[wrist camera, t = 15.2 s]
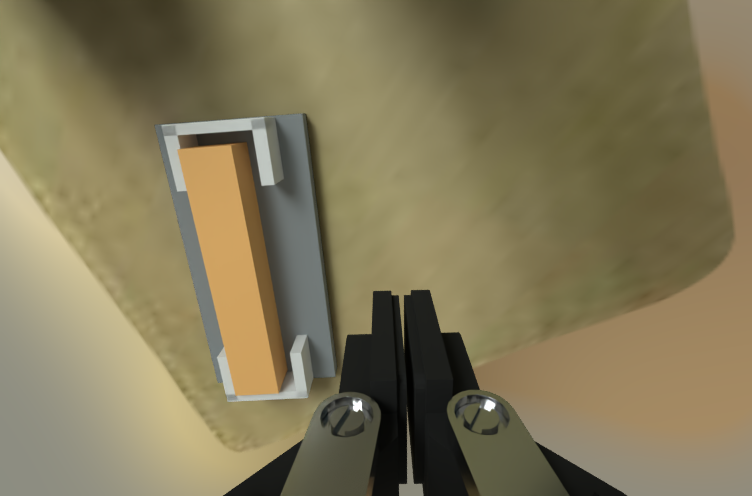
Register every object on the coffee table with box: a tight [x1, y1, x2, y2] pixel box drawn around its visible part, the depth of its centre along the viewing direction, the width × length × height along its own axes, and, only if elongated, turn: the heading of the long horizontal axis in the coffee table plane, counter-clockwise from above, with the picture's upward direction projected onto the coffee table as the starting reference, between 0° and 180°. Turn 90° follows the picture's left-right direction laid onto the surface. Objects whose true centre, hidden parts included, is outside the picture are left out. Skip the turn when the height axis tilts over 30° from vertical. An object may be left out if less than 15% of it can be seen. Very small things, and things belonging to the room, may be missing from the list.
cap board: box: [155, 114, 337, 402], centre depth 34 cm, size 25×12×4 cm, turn 4°
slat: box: [177, 142, 288, 396], centre depth 33 cm, size 22×4×4 cm, turn 4°
